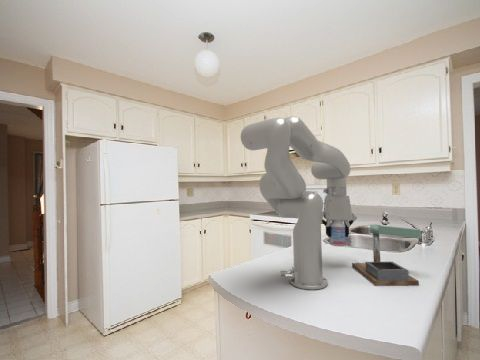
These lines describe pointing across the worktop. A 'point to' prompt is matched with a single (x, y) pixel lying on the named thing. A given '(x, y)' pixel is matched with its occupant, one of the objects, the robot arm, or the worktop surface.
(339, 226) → the pill bottle
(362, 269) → the walnut board
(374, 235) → the post
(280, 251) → the worktop surface
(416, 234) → the bar
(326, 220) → the robot arm
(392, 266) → the socket
